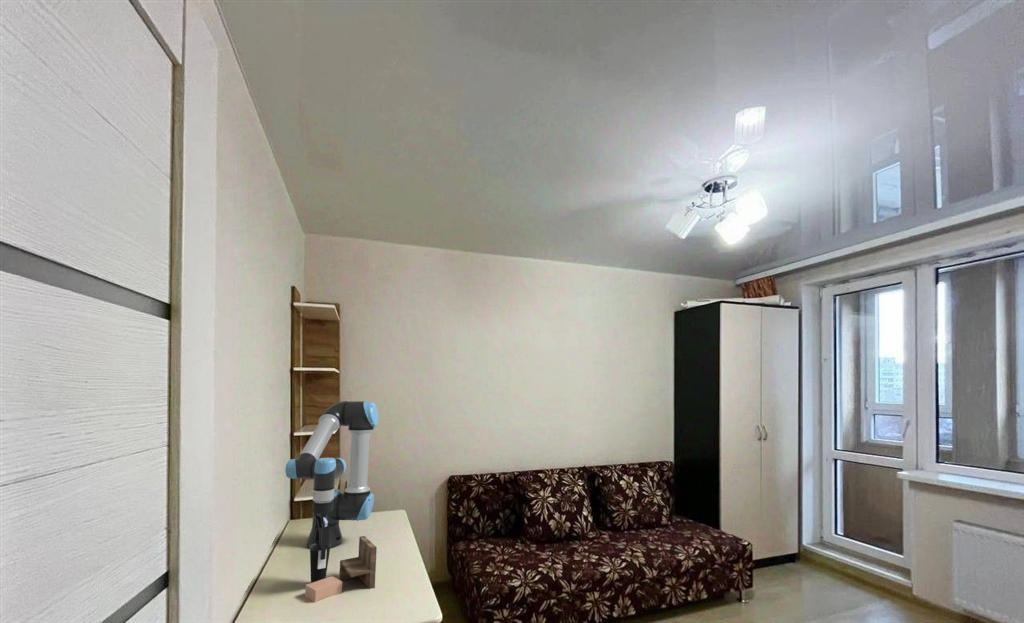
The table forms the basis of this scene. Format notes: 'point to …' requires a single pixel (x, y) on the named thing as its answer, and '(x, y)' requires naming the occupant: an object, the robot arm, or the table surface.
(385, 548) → the table surface
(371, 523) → the table surface
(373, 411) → the robot arm
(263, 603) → the table surface
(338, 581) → the pink rectangular block
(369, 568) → the desk shelf
